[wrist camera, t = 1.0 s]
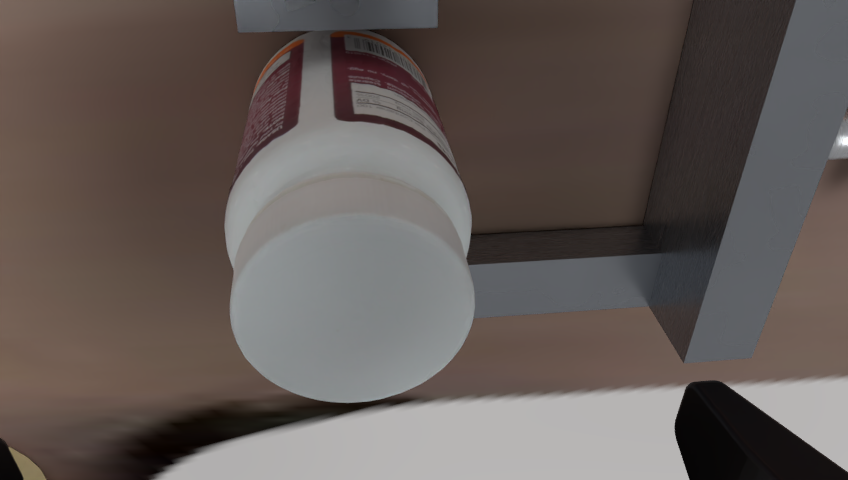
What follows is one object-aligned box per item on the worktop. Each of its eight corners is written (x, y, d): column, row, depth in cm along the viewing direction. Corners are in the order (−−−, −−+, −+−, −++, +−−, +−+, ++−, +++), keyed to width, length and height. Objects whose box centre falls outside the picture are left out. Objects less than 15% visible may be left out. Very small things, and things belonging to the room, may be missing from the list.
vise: (985, -152, 16) (1154, -135, 13) (813, 265, 23) (895, 346, 20) (233, -154, 14) (204, -135, 11) (291, 298, 21) (283, 394, 18)
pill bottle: (291, 210, 19) (270, 447, 12) (222, 53, 17) (146, 244, 10) (451, 165, 19) (521, 381, 12) (408, -2, 16) (465, 154, 10)
